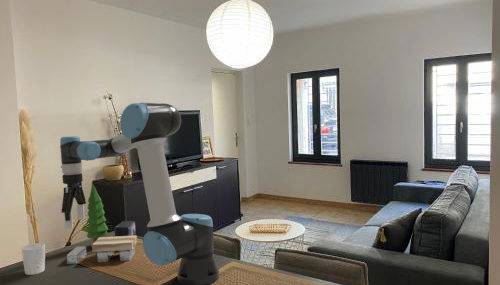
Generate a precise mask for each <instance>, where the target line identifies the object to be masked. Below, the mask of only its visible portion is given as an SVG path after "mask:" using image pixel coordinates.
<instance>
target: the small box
mask: <svg viewBox="0 0 500 285" xmlns="http://www.w3.org/2000/svg"><path fill="white" fill-rule="evenodd" d="M135 235H136V220H135V221H134V220H129V221H128V220H123V221H121V222H120V223H118V224H117V225H115V226H114V237H115V236H135Z"/></svg>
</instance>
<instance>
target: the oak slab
mask: <svg viewBox="0 0 500 285" xmlns="http://www.w3.org/2000/svg"><path fill="white" fill-rule="evenodd" d="M137 243H138V235H136V234H135V236H115V235H114V236H104V237H99V238H98V239H97V240H96V241H95V242H94V243H93V242H92V244H91V246H92V248H91V252H92V253H98V252H103V251H114V252H120V251H122V250H132V249H133V248H134V246H135V247H136V245H137Z"/></svg>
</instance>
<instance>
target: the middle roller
mask: <svg viewBox="0 0 500 285" xmlns="http://www.w3.org/2000/svg"><path fill="white" fill-rule="evenodd" d="M96 253H97V254H96V255H97V263H108V262H109V261H110V259H111V258H112V257H113V256H114V255H115V251H103V252H96ZM112 255H113V256H112Z"/></svg>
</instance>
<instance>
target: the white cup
mask: <svg viewBox="0 0 500 285" xmlns="http://www.w3.org/2000/svg"><path fill="white" fill-rule="evenodd" d="M21 254H22V262H23V268H24V270H23V271H24V274H25V275H27V276H32V275H38V274H41V273H42V272H44V271H45V270H46V269H45V268H46V244H45V243H42V242H39V243H37V242H36V243H29V244H27V245H24V246H22V247H21Z"/></svg>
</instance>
